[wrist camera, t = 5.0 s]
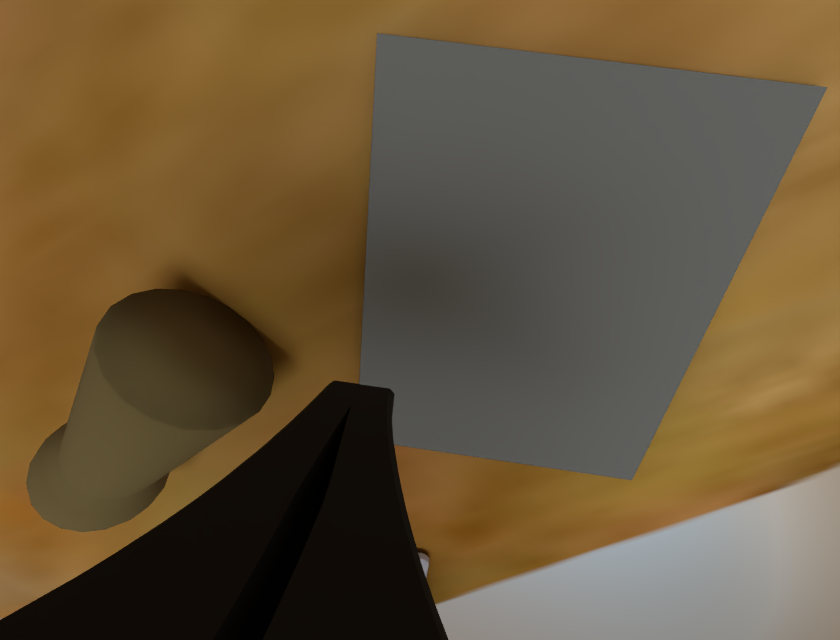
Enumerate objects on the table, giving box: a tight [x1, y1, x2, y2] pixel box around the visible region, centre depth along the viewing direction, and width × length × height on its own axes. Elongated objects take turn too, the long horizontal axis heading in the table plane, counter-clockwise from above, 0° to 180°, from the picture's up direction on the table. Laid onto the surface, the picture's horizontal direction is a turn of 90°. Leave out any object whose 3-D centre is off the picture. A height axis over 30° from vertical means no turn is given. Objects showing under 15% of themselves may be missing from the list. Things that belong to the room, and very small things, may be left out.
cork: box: [26, 289, 274, 532], centre depth 17 cm, size 6×6×11 cm
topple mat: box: [359, 33, 827, 480], centre depth 16 cm, size 16×13×1 cm
